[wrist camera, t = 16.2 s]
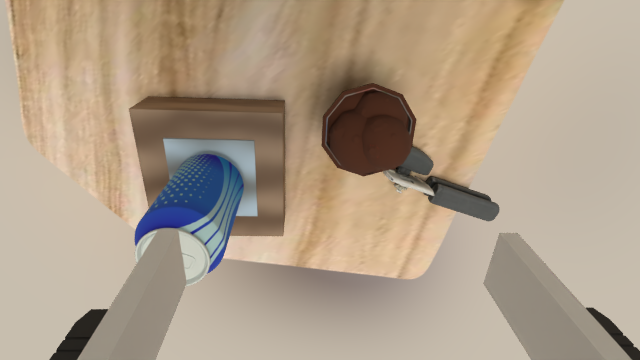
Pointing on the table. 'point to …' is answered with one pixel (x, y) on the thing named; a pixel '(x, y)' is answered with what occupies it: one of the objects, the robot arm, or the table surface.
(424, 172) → the can opener
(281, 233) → the walnut plinth
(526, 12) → the table surface
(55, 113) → the table surface
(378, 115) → the ice cream bowl
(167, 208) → the beer can
